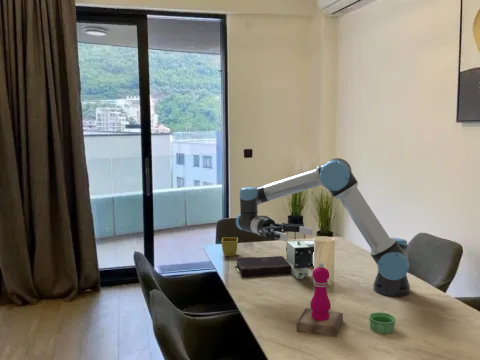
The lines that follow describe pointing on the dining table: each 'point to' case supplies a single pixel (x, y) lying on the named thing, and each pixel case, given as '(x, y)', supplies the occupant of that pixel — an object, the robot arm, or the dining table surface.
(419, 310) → the dining table surface
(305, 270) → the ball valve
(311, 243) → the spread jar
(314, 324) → the plinth
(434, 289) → the dining table surface
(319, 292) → the pepper mill
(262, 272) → the diary
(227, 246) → the flower pot
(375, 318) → the ramekin
